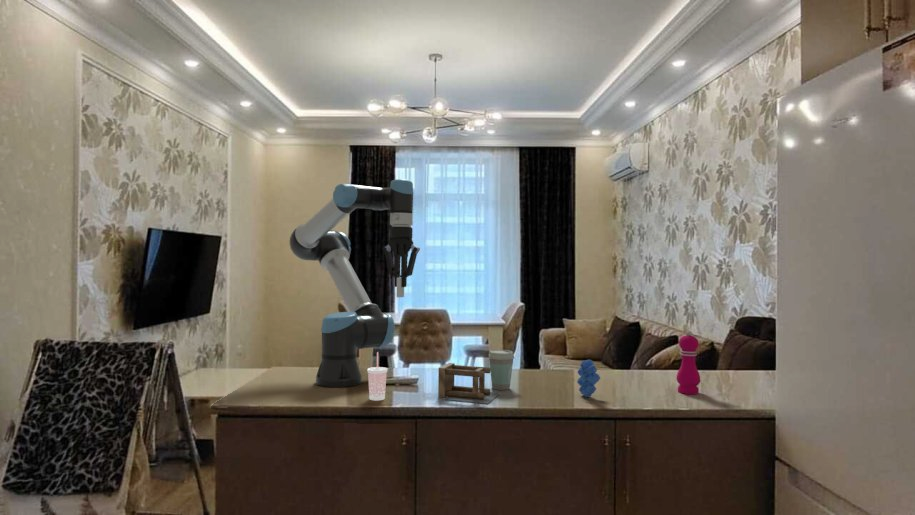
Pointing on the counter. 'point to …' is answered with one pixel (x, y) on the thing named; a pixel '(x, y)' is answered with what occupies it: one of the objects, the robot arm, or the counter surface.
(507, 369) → the coffee cup
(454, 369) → the stool
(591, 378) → the grapes
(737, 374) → the counter surface
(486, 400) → the mat
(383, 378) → the beverage cup
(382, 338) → the robot arm
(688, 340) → the pepper mill
